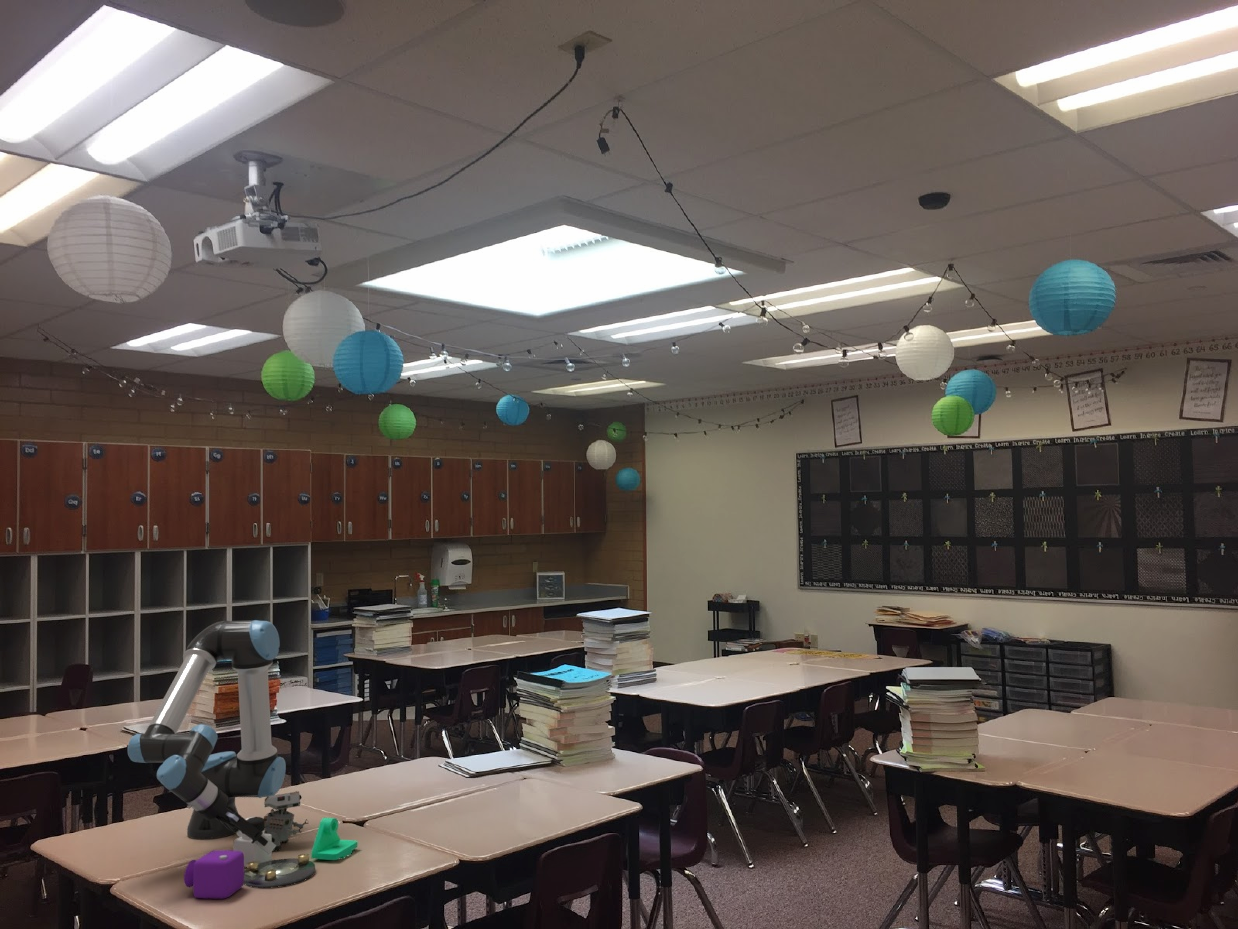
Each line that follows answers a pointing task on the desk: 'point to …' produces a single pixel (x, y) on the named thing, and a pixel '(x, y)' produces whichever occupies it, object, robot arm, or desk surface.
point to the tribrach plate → (278, 872)
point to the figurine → (281, 817)
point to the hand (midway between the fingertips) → (263, 846)
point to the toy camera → (216, 874)
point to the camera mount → (331, 842)
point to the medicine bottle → (253, 844)
